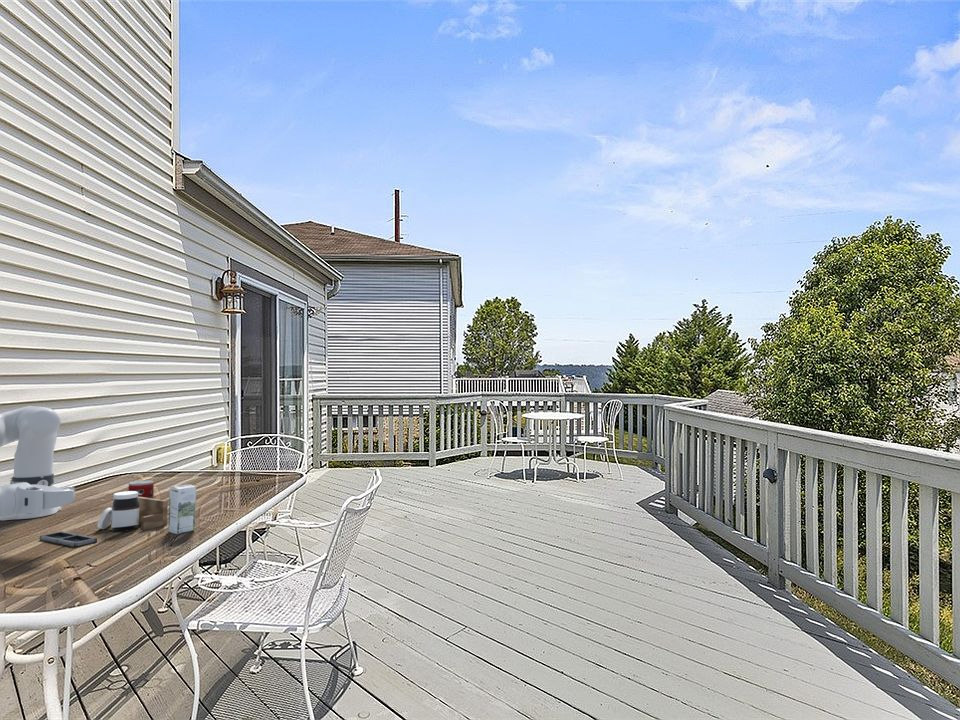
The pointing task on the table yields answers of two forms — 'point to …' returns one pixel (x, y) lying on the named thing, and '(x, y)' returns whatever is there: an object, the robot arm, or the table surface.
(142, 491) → the canned food
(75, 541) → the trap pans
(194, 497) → the syrup box
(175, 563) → the table surface
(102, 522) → the spread jar
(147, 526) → the brown box
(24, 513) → the robot arm
